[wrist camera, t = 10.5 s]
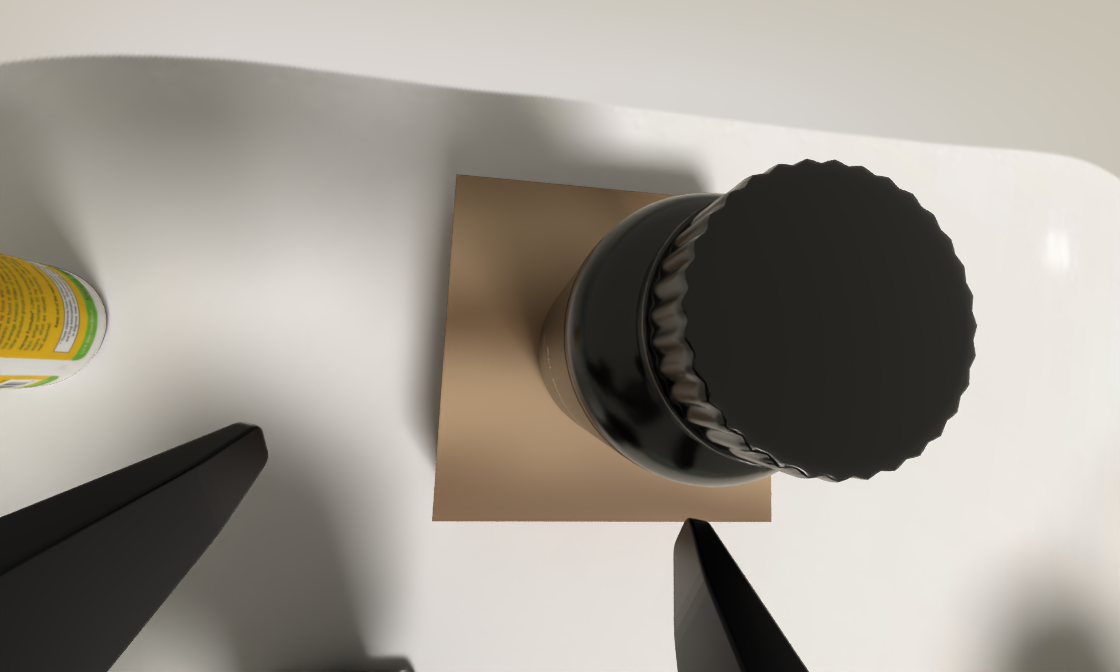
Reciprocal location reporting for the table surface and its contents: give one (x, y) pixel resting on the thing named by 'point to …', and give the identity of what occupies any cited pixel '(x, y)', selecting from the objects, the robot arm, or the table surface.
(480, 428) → the block
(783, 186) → the supplement bottle
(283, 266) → the table surface
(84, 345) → the supplement bottle
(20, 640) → the robot arm
